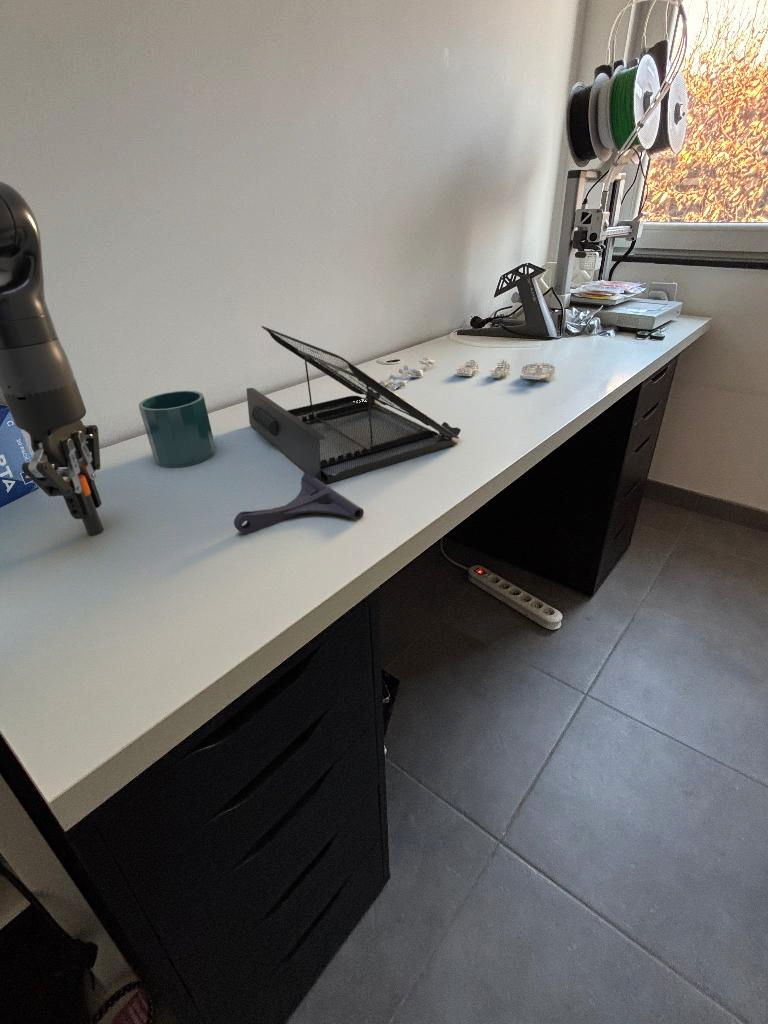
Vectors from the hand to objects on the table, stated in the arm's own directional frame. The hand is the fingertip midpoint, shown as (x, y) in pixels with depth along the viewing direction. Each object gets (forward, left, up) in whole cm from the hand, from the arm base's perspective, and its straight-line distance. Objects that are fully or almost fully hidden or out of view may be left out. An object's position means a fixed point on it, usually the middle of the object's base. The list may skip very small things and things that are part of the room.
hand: (88, 511), depth 70 cm
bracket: (+26, +2, -3) cm, 26 cm away
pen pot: (+4, +25, -3) cm, 26 cm away
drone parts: (+58, +60, -3) cm, 84 cm away
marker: (0, 0, -3) cm, 3 cm away
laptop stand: (+32, +31, -3) cm, 45 cm away
